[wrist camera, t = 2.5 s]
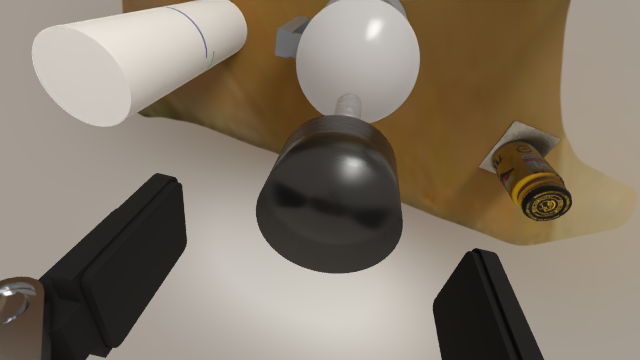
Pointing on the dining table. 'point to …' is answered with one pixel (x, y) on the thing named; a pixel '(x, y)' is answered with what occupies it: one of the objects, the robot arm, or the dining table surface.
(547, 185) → the condiment
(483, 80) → the dining table surface
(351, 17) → the press housing
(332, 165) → the plunger
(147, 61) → the cylindrical container
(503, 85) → the dining table surface
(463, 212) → the dining table surface
